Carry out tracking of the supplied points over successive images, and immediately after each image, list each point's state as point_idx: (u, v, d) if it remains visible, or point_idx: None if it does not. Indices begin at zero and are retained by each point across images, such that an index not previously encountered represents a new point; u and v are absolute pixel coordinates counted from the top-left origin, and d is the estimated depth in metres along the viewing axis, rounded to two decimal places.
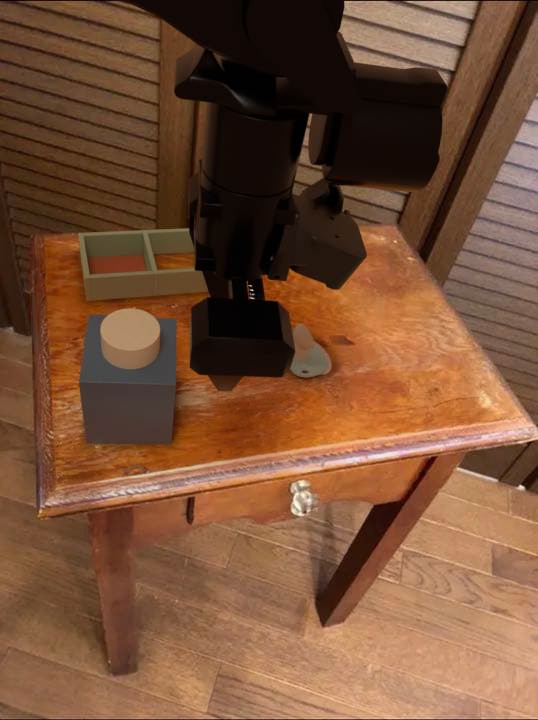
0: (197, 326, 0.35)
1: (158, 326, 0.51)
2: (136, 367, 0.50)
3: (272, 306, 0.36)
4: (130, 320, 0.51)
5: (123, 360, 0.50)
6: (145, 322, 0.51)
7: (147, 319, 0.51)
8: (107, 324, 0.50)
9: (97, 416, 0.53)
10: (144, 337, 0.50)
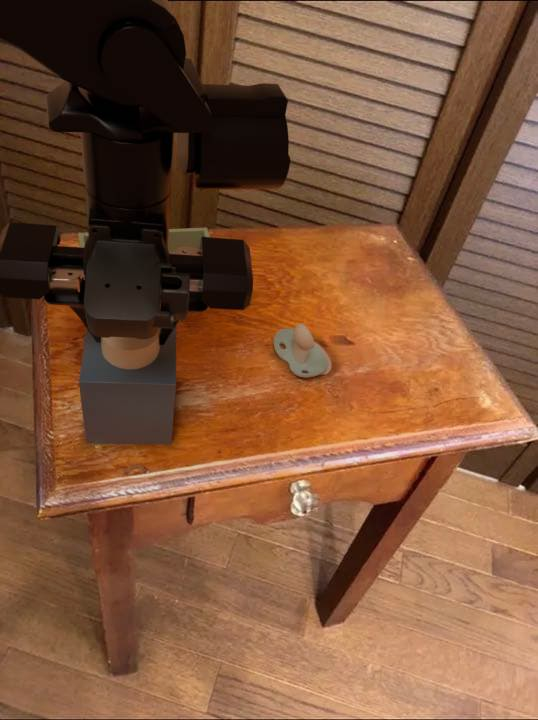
0: None
1: None
2: (136, 367, 0.50)
3: (42, 259, 0.42)
4: None
5: (123, 360, 0.50)
6: None
7: None
8: None
9: (97, 416, 0.53)
10: None
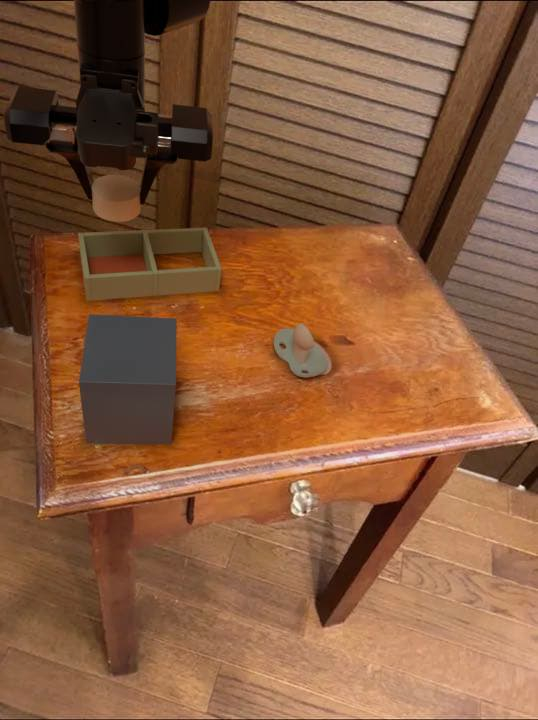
0: None
1: (139, 187, 0.62)
2: (121, 220, 0.62)
3: (44, 110, 0.53)
4: (116, 182, 0.62)
5: (110, 211, 0.61)
6: (128, 184, 0.62)
7: (130, 182, 0.62)
8: (97, 184, 0.61)
9: (97, 416, 0.53)
10: (127, 194, 0.61)
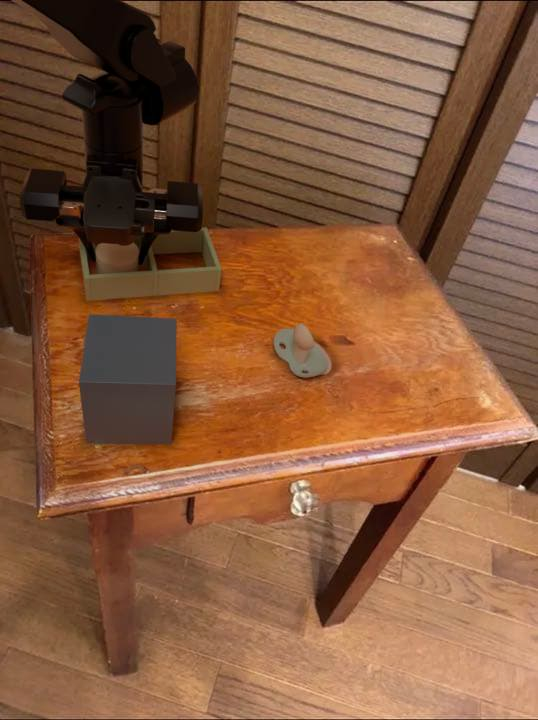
0: None
1: (138, 250, 0.70)
2: None
3: (54, 192, 0.60)
4: (117, 245, 0.69)
5: None
6: (128, 247, 0.70)
7: (130, 245, 0.70)
8: (100, 248, 0.69)
9: (97, 416, 0.53)
10: (127, 257, 0.68)
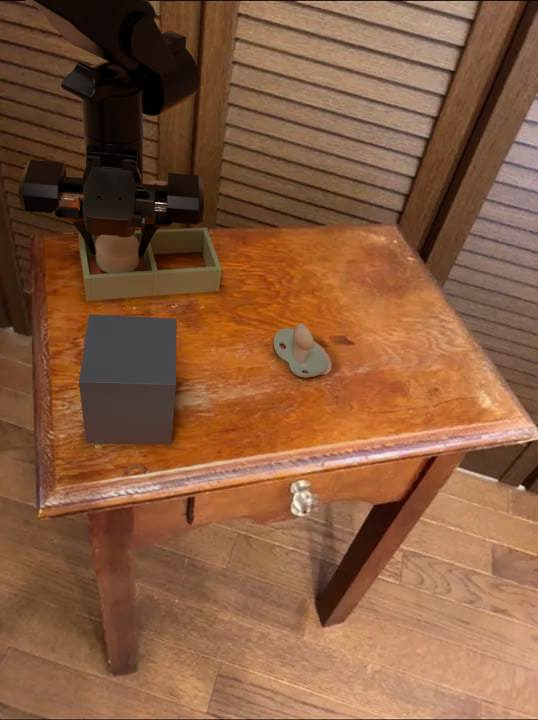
0: None
1: (138, 243, 0.69)
2: None
3: (53, 183, 0.60)
4: (117, 238, 0.69)
5: (112, 266, 0.67)
6: (128, 240, 0.69)
7: (130, 238, 0.69)
8: (100, 241, 0.68)
9: (97, 416, 0.53)
10: (127, 250, 0.68)
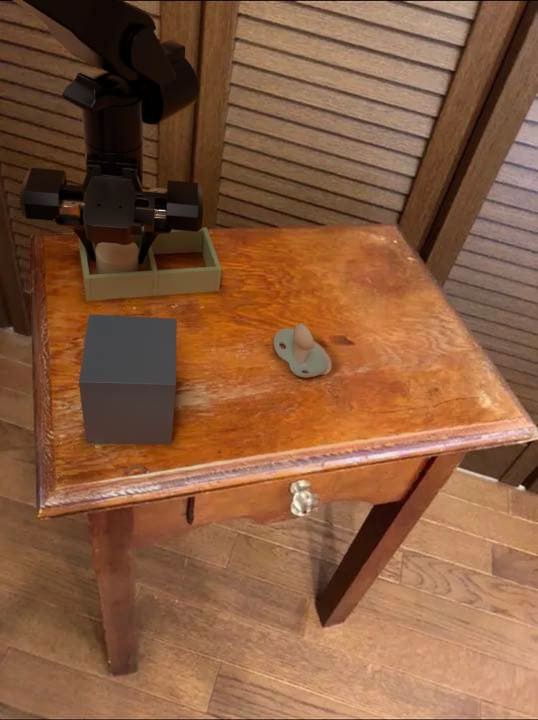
0: None
1: (137, 249, 0.70)
2: None
3: (54, 191, 0.60)
4: (117, 245, 0.69)
5: (112, 272, 0.68)
6: (128, 246, 0.70)
7: (129, 244, 0.70)
8: (100, 247, 0.69)
9: (97, 416, 0.53)
10: (127, 256, 0.68)
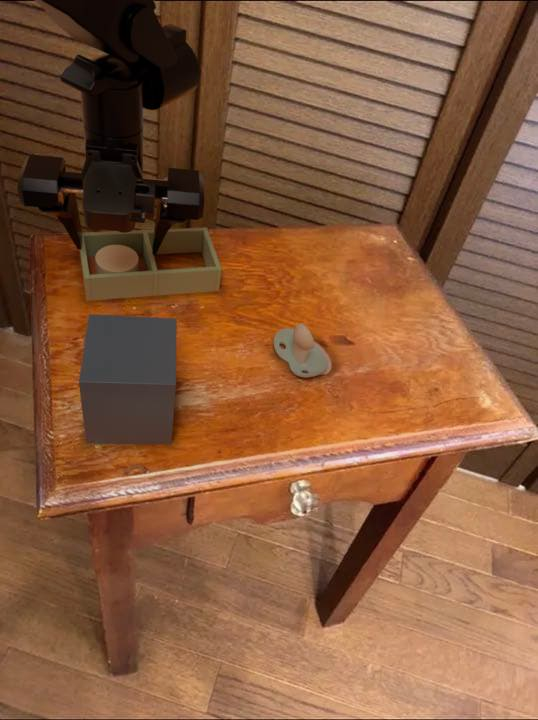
0: None
1: (137, 257, 0.70)
2: None
3: (53, 178, 0.59)
4: (117, 252, 0.70)
5: None
6: (127, 254, 0.70)
7: (129, 252, 0.71)
8: (100, 254, 0.70)
9: (97, 416, 0.53)
10: (126, 263, 0.69)
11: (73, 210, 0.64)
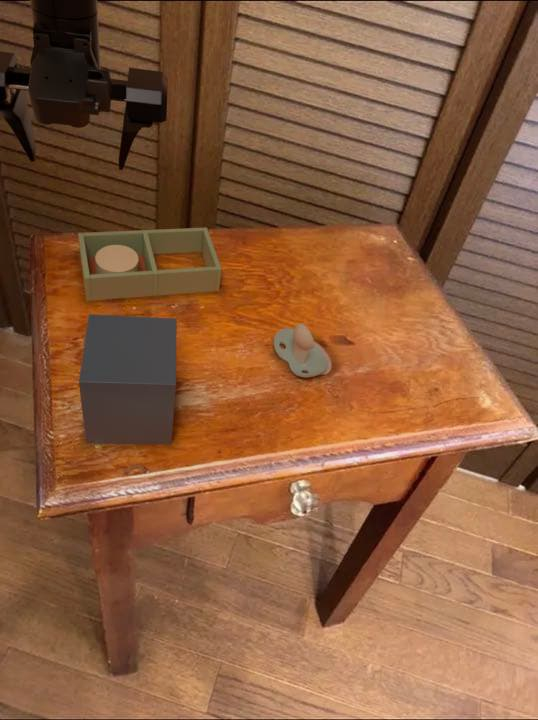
0: None
1: (137, 257, 0.70)
2: None
3: (0, 70, 0.54)
4: (117, 252, 0.70)
5: None
6: (127, 254, 0.70)
7: (129, 252, 0.71)
8: (100, 254, 0.70)
9: (97, 416, 0.53)
10: (126, 264, 0.69)
11: (23, 113, 0.59)
